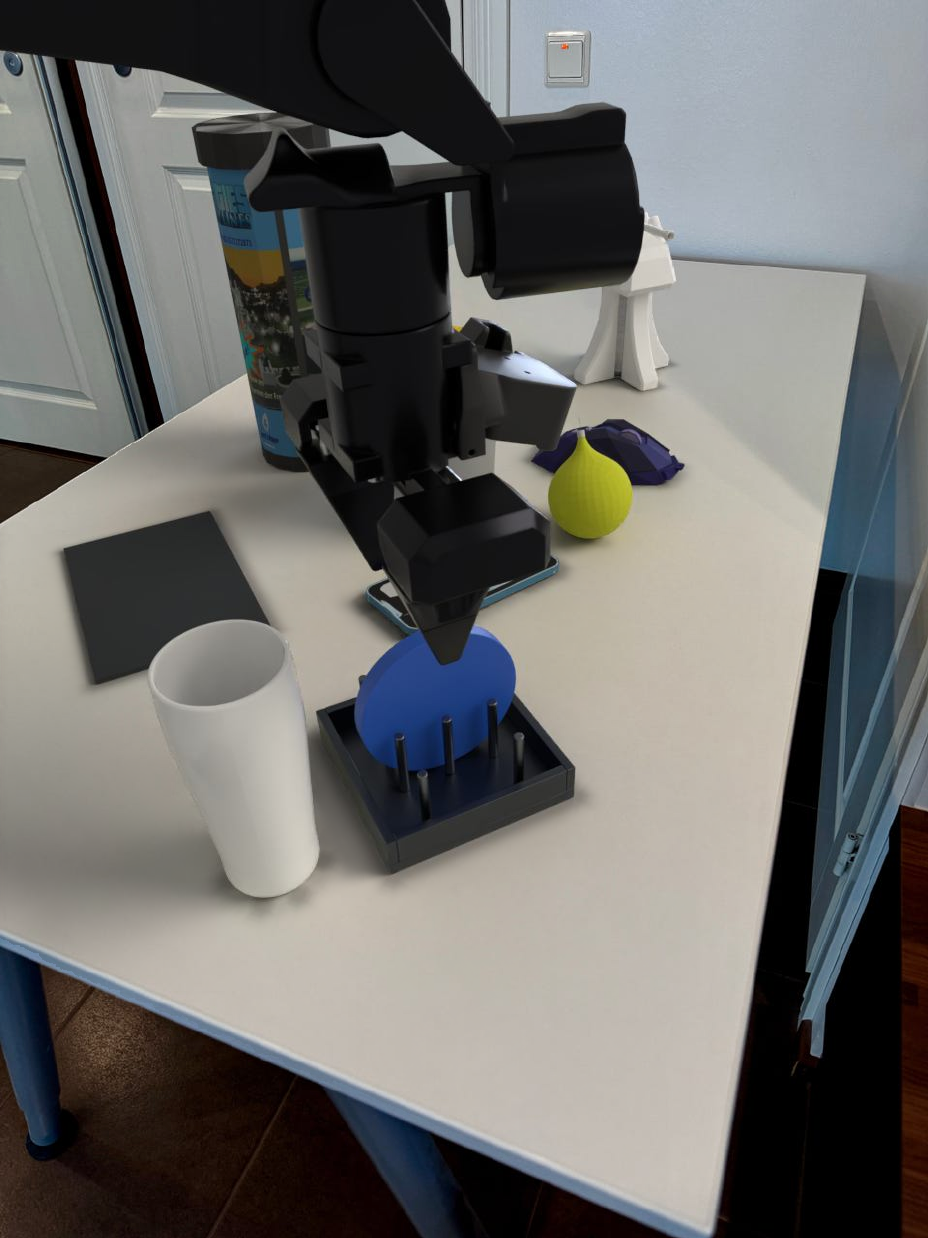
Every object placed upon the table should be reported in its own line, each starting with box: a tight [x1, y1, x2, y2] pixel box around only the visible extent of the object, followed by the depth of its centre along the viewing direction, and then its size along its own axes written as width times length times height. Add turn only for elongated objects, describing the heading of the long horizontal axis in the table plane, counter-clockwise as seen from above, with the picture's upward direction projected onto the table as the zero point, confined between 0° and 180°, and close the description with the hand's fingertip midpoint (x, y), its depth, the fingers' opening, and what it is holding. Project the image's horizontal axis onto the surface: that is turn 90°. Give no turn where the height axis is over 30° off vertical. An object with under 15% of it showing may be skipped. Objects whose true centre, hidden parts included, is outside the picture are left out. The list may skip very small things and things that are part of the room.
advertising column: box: [191, 111, 332, 473], centre depth 82 cm, size 11×11×30 cm
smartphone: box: [365, 553, 560, 636], centre depth 70 cm, size 7×1×15 cm
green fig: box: [547, 419, 634, 539], centre depth 74 cm, size 7×7×10 cm
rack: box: [315, 674, 576, 875], centre depth 54 cm, size 12×12×5 cm
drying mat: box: [63, 510, 272, 685], centre depth 72 cm, size 13×20×1 cm, turn 26°
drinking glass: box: [146, 619, 321, 899], centre depth 45 cm, size 7×7×15 cm
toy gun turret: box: [573, 211, 677, 392], centre depth 99 cm, size 12×13×18 cm
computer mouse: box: [531, 418, 686, 486], centre depth 86 cm, size 9×15×4 cm, turn 64°
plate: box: [354, 624, 517, 771], centre depth 52 cm, size 1×10×10 cm, turn 116°
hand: (412, 611), depth 46 cm, fingers open, 9 cm apart
